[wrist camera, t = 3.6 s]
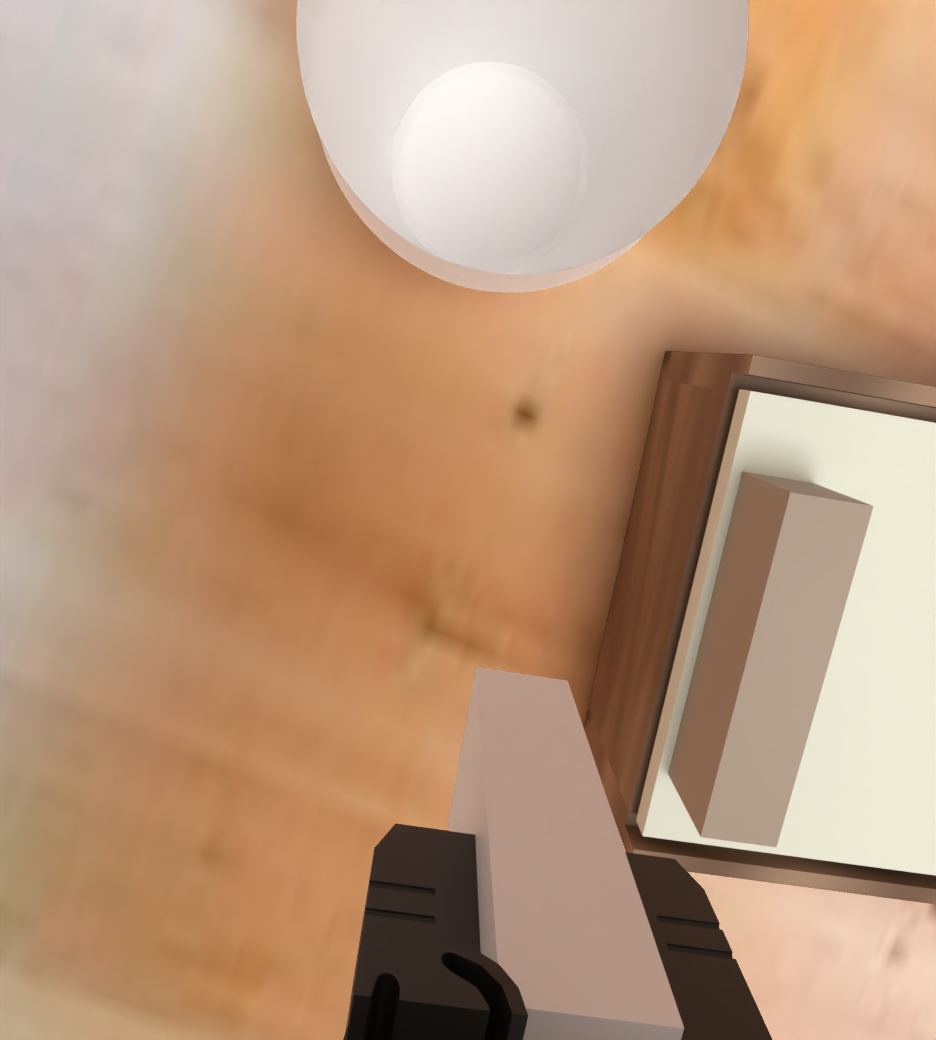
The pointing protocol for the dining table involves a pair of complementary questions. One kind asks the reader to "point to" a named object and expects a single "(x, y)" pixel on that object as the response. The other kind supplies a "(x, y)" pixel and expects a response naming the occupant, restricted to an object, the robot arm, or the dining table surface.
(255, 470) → the dining table surface
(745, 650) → the lid
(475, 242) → the cup
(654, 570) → the box
